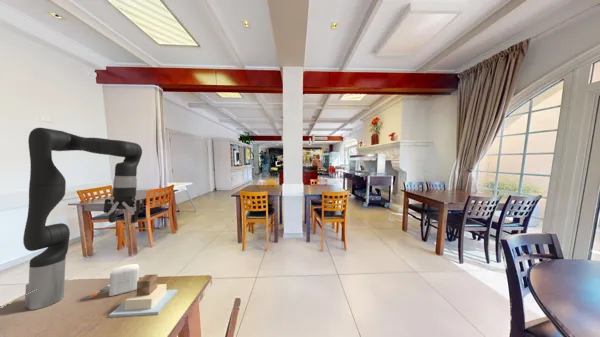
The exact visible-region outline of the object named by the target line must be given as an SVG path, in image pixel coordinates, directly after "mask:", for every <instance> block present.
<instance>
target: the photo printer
mask: <svg viewBox="0 0 600 337" xmlns="http://www.w3.org/2000/svg"><path fill="white" fill-rule="evenodd" d="M138 280H140V265H139V264H138V263H134V264H133V263H130V264H125V265H121V266H118V267H115V268H113V269H111V272H110V276H109V285H110V287H109V290H108V296H110V297H113V296H114V297H115V296H118V295H122V294H125V293H130V292H133V291H134V292H135V291H137V281H138Z"/></svg>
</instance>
